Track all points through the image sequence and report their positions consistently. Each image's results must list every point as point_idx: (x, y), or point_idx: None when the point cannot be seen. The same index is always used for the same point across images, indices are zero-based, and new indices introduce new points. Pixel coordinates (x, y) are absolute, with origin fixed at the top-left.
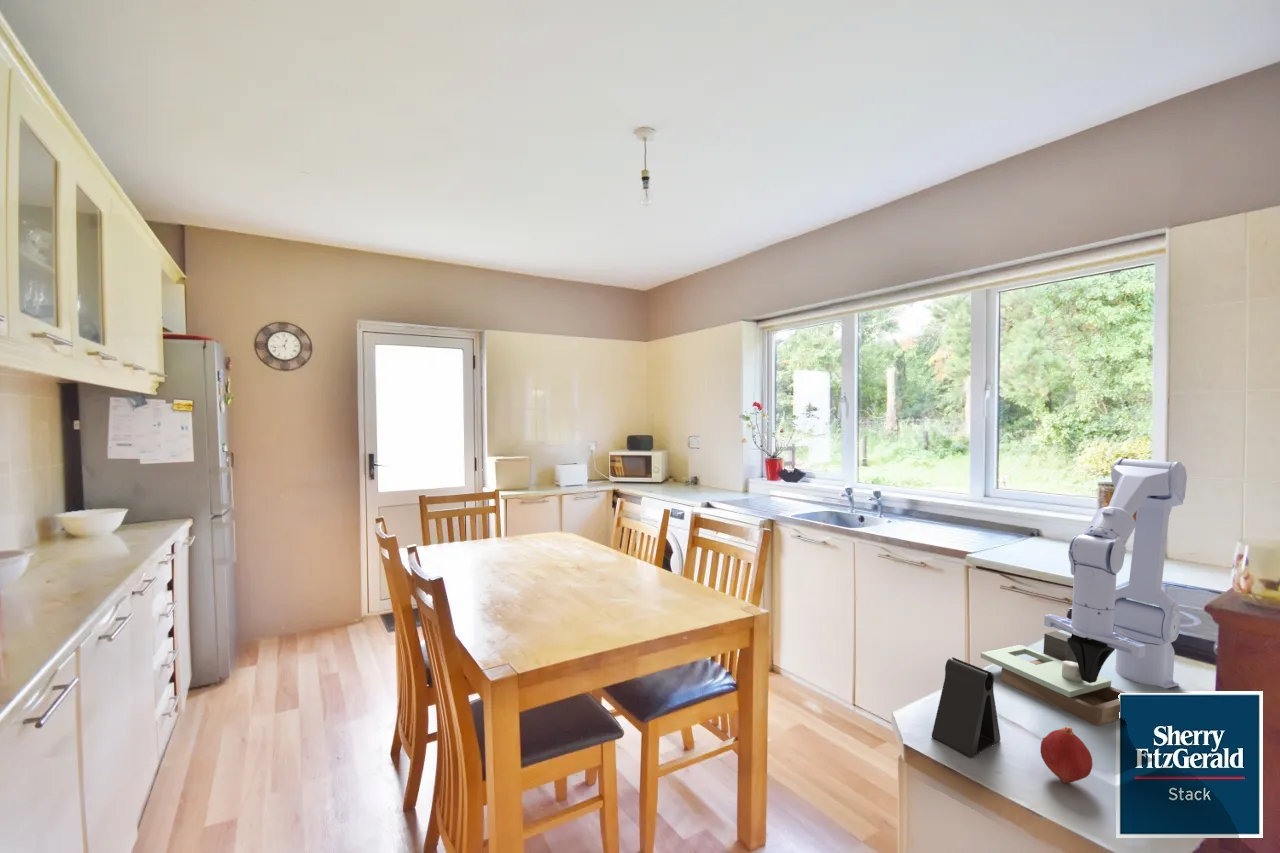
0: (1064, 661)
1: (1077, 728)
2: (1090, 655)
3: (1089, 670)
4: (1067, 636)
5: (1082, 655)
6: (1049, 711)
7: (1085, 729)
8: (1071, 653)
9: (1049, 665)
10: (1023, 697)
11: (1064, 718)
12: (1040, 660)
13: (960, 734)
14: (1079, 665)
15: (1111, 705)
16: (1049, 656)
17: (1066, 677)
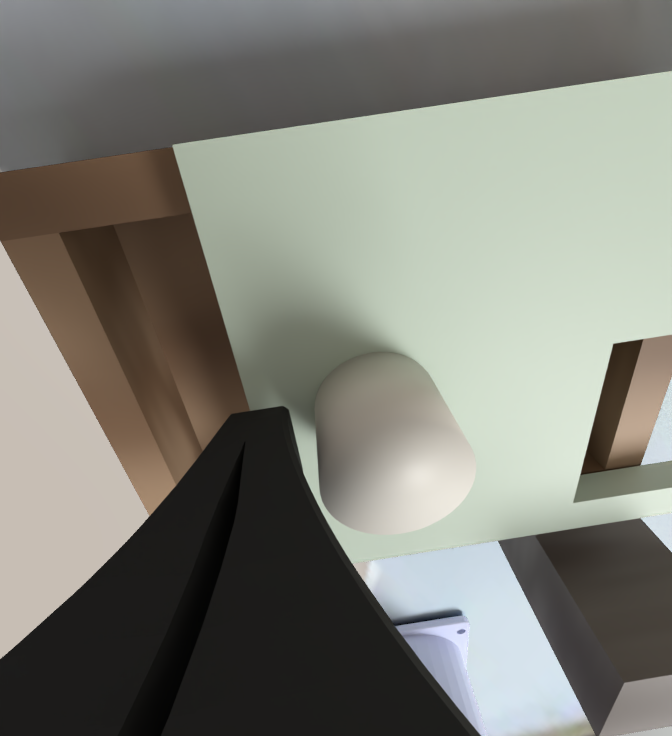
0: (467, 467)
1: (97, 69)
2: (29, 693)
3: (187, 482)
4: (648, 718)
5: (208, 607)
6: (308, 97)
7: (88, 120)
8: (558, 617)
9: (555, 424)
10: (488, 94)
11: (220, 114)
12: (628, 465)
13: None
14: (285, 474)
15: (81, 367)
16: (614, 517)
17: (377, 359)
